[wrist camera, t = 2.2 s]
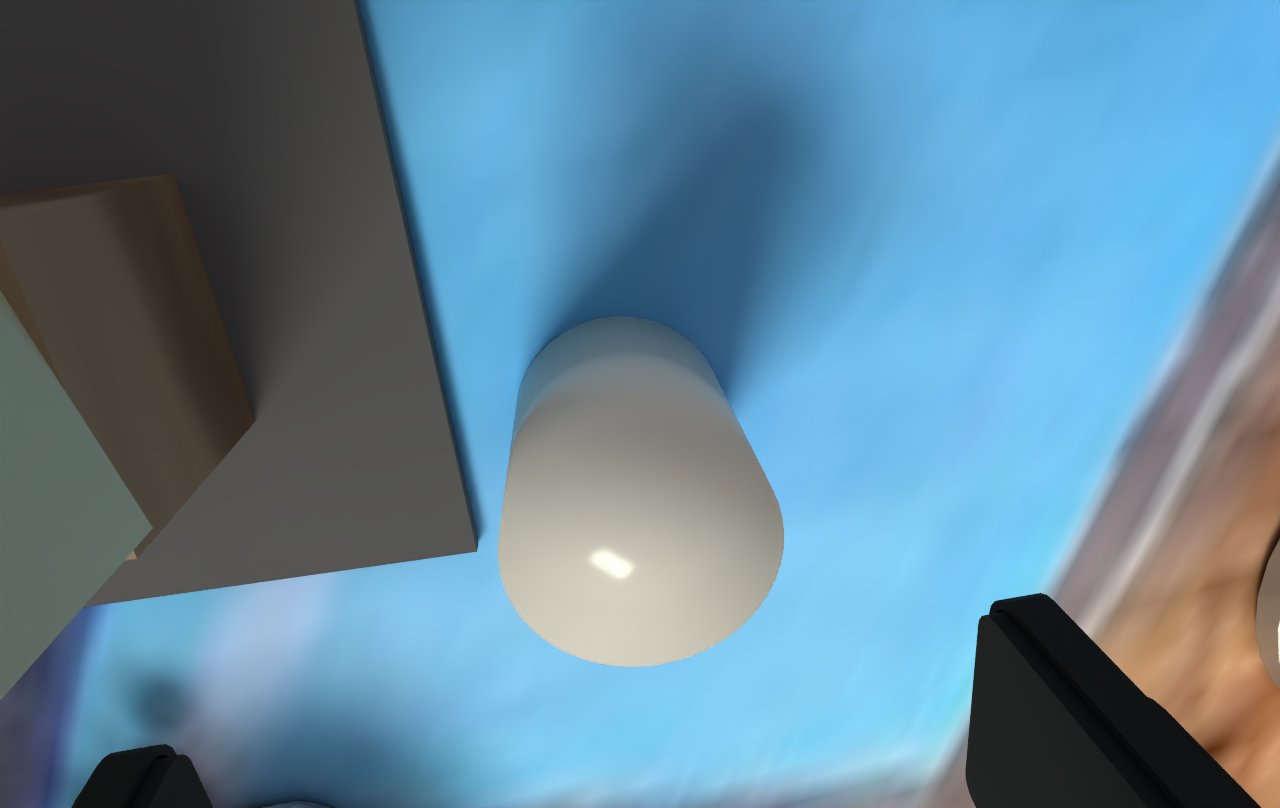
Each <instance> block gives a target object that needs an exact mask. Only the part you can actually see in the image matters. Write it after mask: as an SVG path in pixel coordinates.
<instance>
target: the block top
mask: <svg viewBox="0 0 1280 808" xmlns="http://www.w3.org/2000/svg"><path fill="white" fill-rule="evenodd" d="M152 529H153V527H152V526H151V524H150V523H149V521H148V519H147V518H146V516H145V515H144V513H143V512H142V510H141V509H140V507H139V505H138V504H137V502H136V501H135V499H134V498H133V496H132V495H131V493H130V491H129V490H128V488H127V487H126V485H125V484H124V482H123V481H122V479H121V477H120V476H119V474H118V473H117V471H116V470H115V468H114V466H113V465H112V463H111V462H110V460H109V459H108V457H107V456H106V454H105V452H104V451H103V449H102V448H101V446H100V445H99V443H98V442H97V440H96V438H95V437H94V435H93V434H92V432H91V431H90V429H89V428H88V426H87V424H86V423H85V421H84V420H83V418H82V417H81V415H80V414H79V412H78V410H77V409H76V407H75V406H74V404H73V403H72V401H71V399H70V398H69V396H68V395H67V393H66V392H65V390H64V389H63V387H62V385H61V384H60V382H59V381H58V379H57V378H56V376H55V375H54V373H53V371H52V370H51V368H50V367H49V365H48V364H47V362H46V361H45V359H44V357H43V356H42V354H41V353H40V351H39V350H38V348H37V347H36V345H35V343H34V342H33V340H32V339H31V337H30V336H29V334H28V333H27V331H26V329H25V328H24V326H23V325H22V323H21V322H20V320H19V318H18V317H17V315H16V314H15V312H14V311H13V309H12V308H11V306H10V304H9V303H8V301H7V300H6V298H5V297H4V295H3V294H2V292H1V290H0V700H1V699H2V698H3V697H4V696H5V695H6V693H7V692H8V691H9V690H10V689H11V688H12V687H13V686H14V684H15V683H16V682H17V681H18V680H19V679H20V678H21V677H22V675H23V674H24V673H25V672H26V671H27V670H28V669H29V668H30V666H31V665H32V664H33V663H34V662H35V661H36V660H37V658H38V657H39V656H40V655H41V654H42V653H43V652H44V651H45V649H46V648H47V647H48V646H49V645H50V644H51V643H52V642H53V640H54V639H55V638H56V637H57V636H58V635H59V634H60V633H61V631H62V630H63V629H64V628H65V627H66V626H67V625H68V623H69V622H70V621H71V620H72V619H73V618H74V617H75V616H76V614H77V613H78V612H79V611H80V610H81V609H82V608H83V607H84V605H85V604H86V603H87V602H88V601H89V600H90V599H91V598H92V596H93V595H94V594H95V593H96V592H97V591H98V590H99V588H100V587H101V586H102V585H103V584H104V583H105V582H106V581H107V579H108V578H109V577H110V576H111V575H112V574H113V573H114V572H115V570H116V569H117V568H118V567H119V566H120V565H121V564H122V563H123V561H124V560H125V559H126V558H127V557H128V556H129V555H130V554H131V552H132V551H133V550H134V549H135V548H136V547H137V546H138V544H139V543H140V542H141V541H142V540H143V539H144V538H145V537H146V535H147V534H148V533H149V532H150V531H151V530H152Z"/></svg>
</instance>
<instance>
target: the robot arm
mask: <svg viewBox="0 0 1280 808" xmlns="http://www.w3.org/2000/svg"><path fill="white" fill-rule="evenodd" d="M1255 631H1256V636H1257V642H1258V648H1259V654H1260V658H1261V660H1262V662H1263V664H1264V666H1265V668H1266V670H1267V672H1268V674H1269V676H1270V678H1271V680H1272V681H1273V682H1274V683H1275V684H1276V685H1277V686H1278V687H1279V688H1280V539H1279V541H1278V543H1277V545H1276V547H1275V549H1274V551H1273V552H1272V554H1271V556H1270V558H1269V561H1268V564H1267V567H1266V570H1265V574H1264V577H1263V580H1262V584H1261V587H1260V590H1259V593H1258V600H1257V612H1256V624H1255ZM966 781H967V786H968V789H969V793H970V795H971V798H972V800H973V802H974V804H975V806H976V808H1261V807H1260V806H1259V805H1258V804H1257V803H1256V802H1255V801H1254V800H1253V799H1252V798H1251V797H1250V796H1249V795H1248V794H1247V793H1246V791H1245V790H1244V789H1243V788H1242V787H1241V786H1240V785H1239V784H1238V783H1237V782H1236V781H1235V780H1234V779H1233V778H1232V777H1231V776H1230V775H1229V774H1228V773H1227V772H1226V771H1225V770H1224V769H1223V768H1222V767H1221V766H1220V765H1219V764H1218V763H1217V762H1216V761H1215V760H1214V759H1213V758H1212V757H1211V756H1210V755H1209V754H1208V753H1207V752H1206V751H1205V750H1204V749H1203V748H1202V746H1201V745H1200V744H1199V743H1198V742H1197V741H1196V740H1195V739H1194V738H1193V737H1192V736H1191V735H1190V734H1189V733H1188V732H1187V731H1186V730H1185V729H1184V728H1183V727H1182V726H1181V725H1180V724H1179V723H1178V722H1177V721H1176V720H1175V719H1174V718H1173V717H1172V716H1171V715H1170V714H1169V713H1168V712H1167V711H1166V710H1165V709H1164V708H1163V707H1162V706H1160V705H1159V704H1158V703H1157V702H1156V701H1154V700H1153V699H1151V698H1149V697H1147V696H1146V695H1145V694H1144V693H1143V692H1142V691H1141V690H1140V689H1139V688H1138V687H1137V686H1136V685H1135V684H1134V683H1133V682H1132V681H1131V680H1130V679H1129V678H1128V677H1127V676H1126V675H1125V674H1124V673H1123V672H1122V671H1121V670H1120V669H1119V668H1118V666H1117V665H1116V664H1115V663H1114V662H1113V661H1112V660H1111V659H1110V658H1109V657H1108V656H1107V655H1106V654H1105V653H1104V652H1103V651H1102V650H1101V649H1100V648H1099V647H1098V646H1097V645H1096V644H1095V643H1094V642H1093V641H1092V640H1091V639H1090V638H1089V637H1088V635H1087V634H1086V633H1085V632H1084V631H1083V630H1082V629H1081V628H1080V627H1079V626H1078V625H1077V624H1076V623H1075V622H1074V621H1073V620H1072V619H1071V618H1070V617H1069V616H1068V615H1067V614H1066V613H1065V612H1064V611H1063V610H1062V609H1061V608H1060V607H1059V606H1058V605H1057V603H1056V602H1055V601H1054V600H1052V599H1051V598H1050V597H1049V596H1047V595H1045V594H1042V593H1038V594H1033V595H1027V596H1021V597H1015V598H1009V599H1004V600H998V601H995V602H994V603H993V604H992V606H991V608H990V612H989V615H985V616H982V617H981V618H980V620H979V624H978V634H977V646H976V657H975V669H974V680H973V692H972V703H971V715H970V726H969V737H968V749H967V760H966ZM72 808H213V807H212V805H211V802H210V800H209V798H208V796H207V794H206V792H205V790H204V787H203V785H202V783H201V781H200V779H199V777H198V774H197V772H196V770H195V768H194V766H193V764H192V762H191V760H190V759H189V757H187V756H186V755H177V754H176V753H175V751H174V750H173V748H172V747H170V746H168V745H167V744H164V745H156V746H150V747H144V748H138V749H133V750H127V751H121V752H115V753H110V754H109V755H107V756H106V757H104V758H103V759H102V760H101V762H100V763H99V764H98V765H97V767H96V769H95V770H94V772H93V773H92V775H91V777H90V778H89V780H88V782H87V783H86V785H85V786H84V788H83V790H82V791H81V793H80V795H79V796H78V798H77V799H76V801H75V803H74V804H73V806H72Z"/></svg>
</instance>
